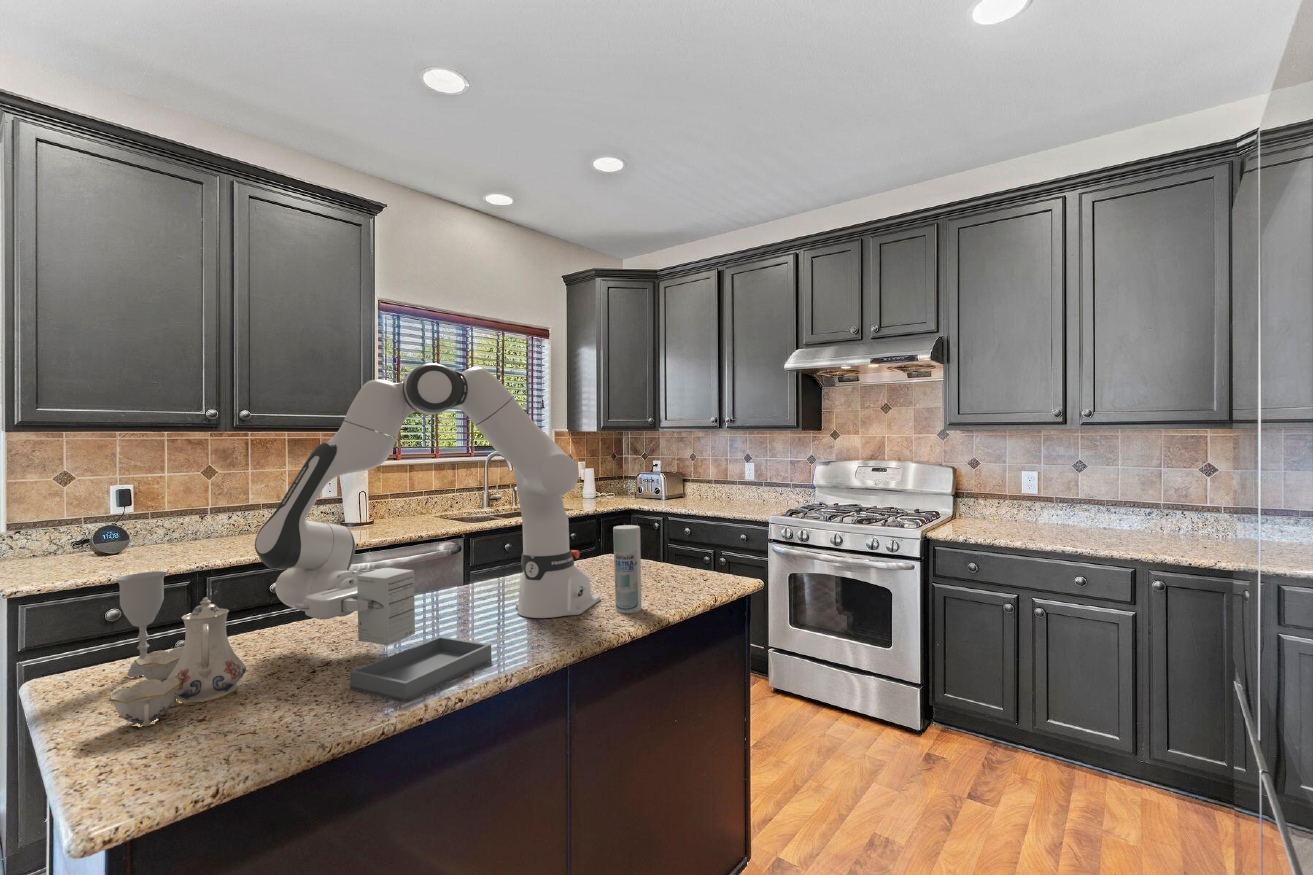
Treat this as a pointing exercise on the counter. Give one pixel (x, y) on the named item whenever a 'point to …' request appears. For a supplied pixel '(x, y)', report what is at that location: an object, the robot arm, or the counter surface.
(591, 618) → the counter surface
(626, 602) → the spray can
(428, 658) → the tray
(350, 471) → the robot arm
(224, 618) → the chinaware
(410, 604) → the supplement box
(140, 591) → the chalice
